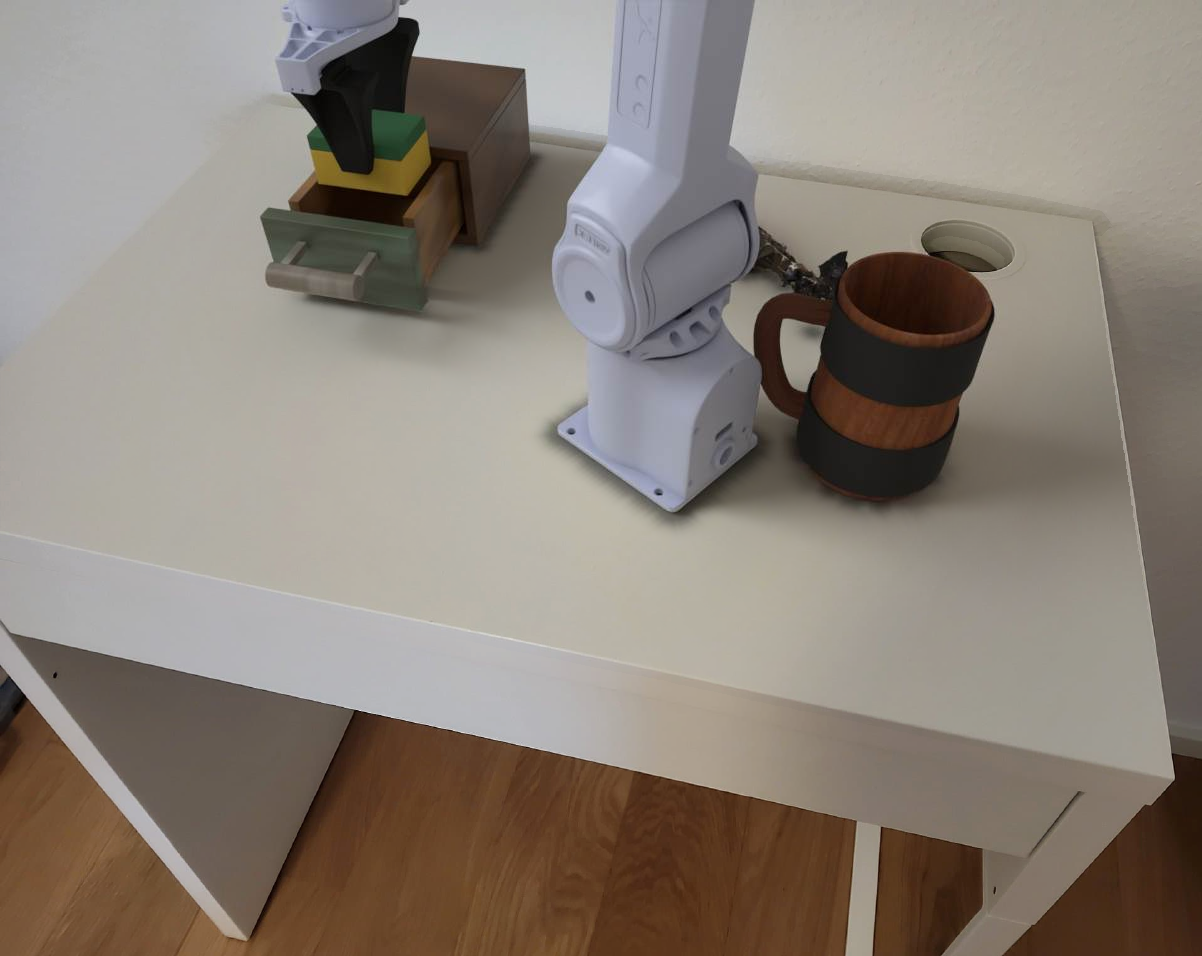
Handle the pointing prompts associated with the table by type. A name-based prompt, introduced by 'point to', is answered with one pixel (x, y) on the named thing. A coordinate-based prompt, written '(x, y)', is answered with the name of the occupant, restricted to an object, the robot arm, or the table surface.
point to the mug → (880, 371)
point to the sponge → (380, 155)
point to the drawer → (365, 238)
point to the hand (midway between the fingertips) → (373, 151)
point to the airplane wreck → (800, 268)
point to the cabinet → (474, 130)
